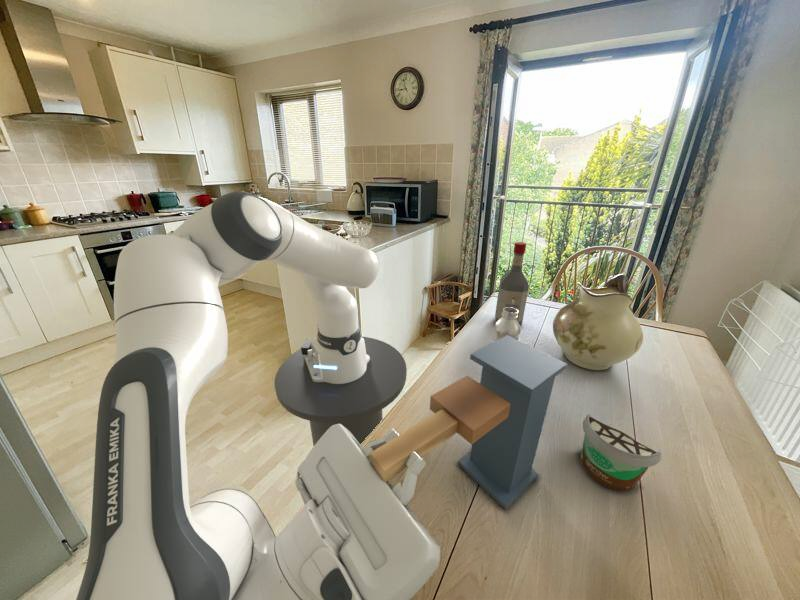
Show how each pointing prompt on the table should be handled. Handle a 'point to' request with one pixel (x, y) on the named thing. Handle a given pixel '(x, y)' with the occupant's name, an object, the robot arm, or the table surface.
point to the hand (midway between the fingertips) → (409, 444)
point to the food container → (614, 456)
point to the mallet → (444, 424)
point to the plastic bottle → (507, 324)
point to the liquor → (513, 286)
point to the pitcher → (599, 326)
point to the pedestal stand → (512, 417)
